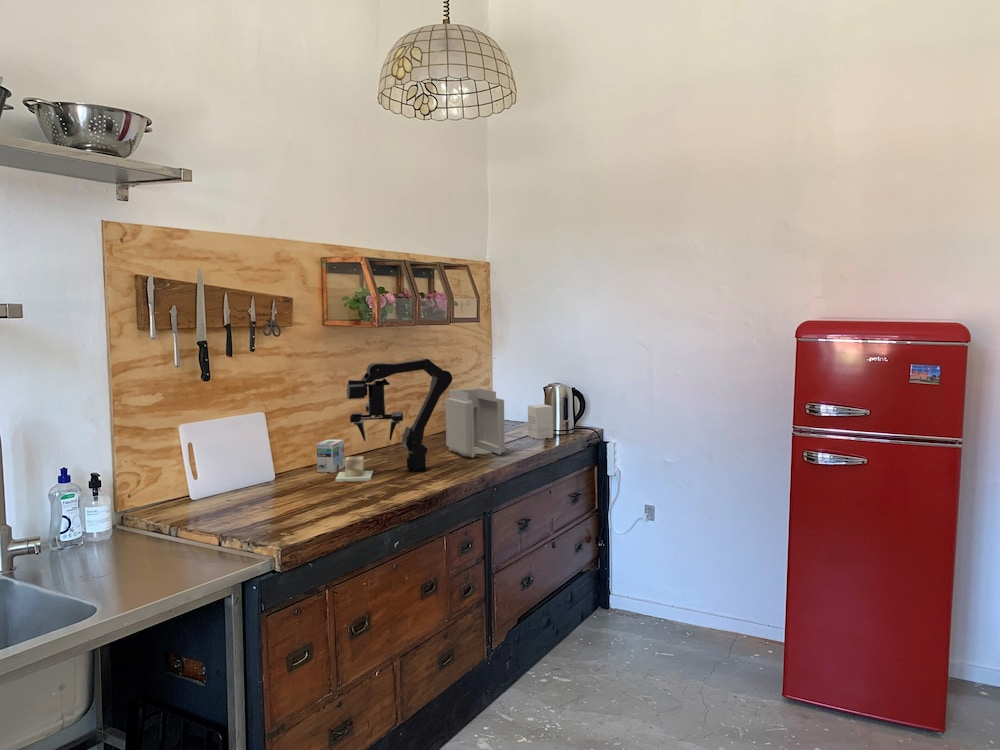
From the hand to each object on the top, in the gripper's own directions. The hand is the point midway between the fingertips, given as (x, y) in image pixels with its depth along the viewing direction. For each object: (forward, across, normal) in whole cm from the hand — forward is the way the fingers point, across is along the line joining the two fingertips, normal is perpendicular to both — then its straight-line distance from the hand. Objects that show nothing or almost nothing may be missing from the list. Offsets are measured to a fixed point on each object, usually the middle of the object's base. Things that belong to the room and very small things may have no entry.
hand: (377, 440), depth 267 cm
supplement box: (+12, -70, -67) cm, 98 cm away
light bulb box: (+12, +18, -9) cm, 24 cm away
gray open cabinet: (+12, -37, -33) cm, 51 cm away
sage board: (+12, +8, +6) cm, 16 cm away
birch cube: (+11, +8, +6) cm, 15 cm away
